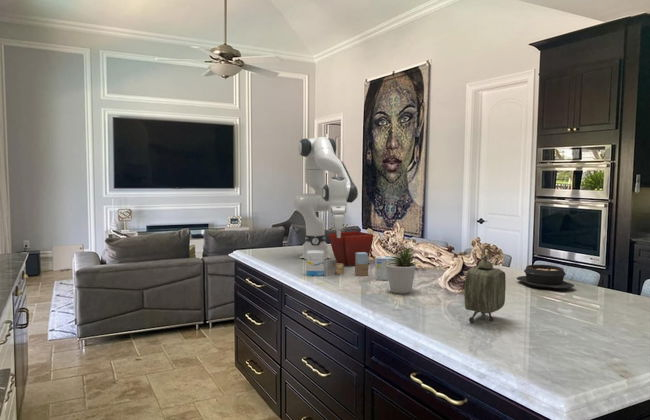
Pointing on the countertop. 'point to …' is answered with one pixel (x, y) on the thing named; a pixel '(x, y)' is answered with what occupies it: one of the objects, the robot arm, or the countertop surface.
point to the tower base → (361, 269)
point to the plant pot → (350, 246)
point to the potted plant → (401, 272)
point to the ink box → (315, 263)
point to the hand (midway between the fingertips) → (338, 236)
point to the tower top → (361, 258)
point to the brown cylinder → (339, 268)
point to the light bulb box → (382, 267)
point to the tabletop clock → (484, 288)
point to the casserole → (545, 277)
